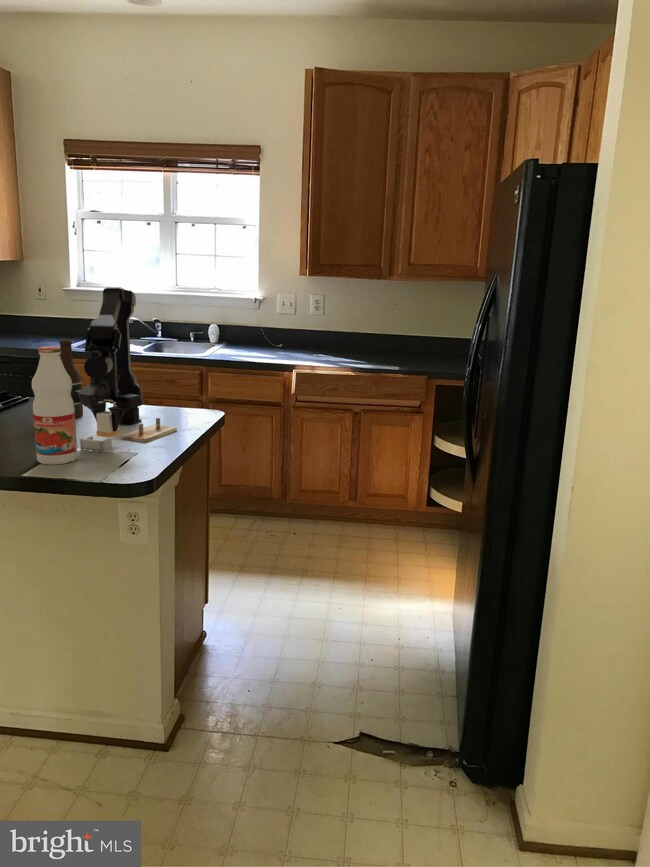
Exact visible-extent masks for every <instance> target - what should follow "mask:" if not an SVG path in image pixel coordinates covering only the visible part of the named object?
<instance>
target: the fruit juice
mask: <svg viewBox="0 0 650 867" xmlns="http://www.w3.org/2000/svg"><path fill="white" fill-rule="evenodd" d="M60 352H61V349H60V346H55V345H44V346H39V347H38V355H39V356H40V357H39V361H38V366H37V367H36V368H37V369H36V372H35V374H34V375H33V377H32V380H31V389H32V392H33V395H34V399H33V401H32V413H33V414H32V415H33V425H34V426H33V429H34V438H35V439H34V440H35V452H36V454H35V455H36V460H37V462H38V463H40V464H42V465H53V466H54V465H55V466H57V465H64V464H68V462H69V463H72V462H74V461H76V460H77V457H78V448H77V446H78V445H77V431H76V430H77V428H76V419H75V410H74V402H73V399H72V397H71V390H72V380H71V378H70V376H69V375H68V374H67V372H66V370H65V368H64V366H63V364H62V361H61V359H60V354H61V353H60ZM75 459H76V460H75ZM71 461H72V462H71Z"/></svg>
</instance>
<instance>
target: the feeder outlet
mask: <svg viewBox="0 0 650 867" xmlns="http://www.w3.org/2000/svg"><path fill="white" fill-rule="evenodd" d="M79 441H80V442H79V444H80V446H79V447H80V450H81V449H86V450H85V451H87V450H92V451H91V452H93V451H98V452H97V453H100V452H103V453H106V452H109V451H111V450H113V439H112V438H107V439H105V440H101V441H100V440H94V435H88V436H85V437H83V438H80V439H79Z"/></svg>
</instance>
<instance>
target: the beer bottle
mask: <svg viewBox="0 0 650 867" xmlns="http://www.w3.org/2000/svg"><path fill="white" fill-rule="evenodd" d="M58 344H59V347H60V349H61V352H60V353H61V354H60V359H61V361H62V364H63V366H64V368H65V370H66V372H67V374H68V375H69V376H70V378H71V380H72V390H71V397H72V394H73V393H74V391H78V390H82V389H83V387H82V386H83V385H82V378H81V374H80V372H79V370H78V368H77V367H76V366H75V363H74V362H75V361H74V358H73V356H74V355H73V350H72V347H73V346H72V344H73V342H72V340H71V339H67V338H63V339H60V340H59V341H58ZM74 410H75V418H76V419H79V417H80V418H81V416H82V417H83V415H84V404H81V403H76V402H74Z"/></svg>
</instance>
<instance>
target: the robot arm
mask: <svg viewBox="0 0 650 867" xmlns="http://www.w3.org/2000/svg"><path fill="white" fill-rule="evenodd" d="M136 299H137V298H136V293H134V292H133V291H132V290H131V289H125V288H124V287H121V286H106V287H104V288H103V290H102V303H101V307H100V310H99V313H98V317H96V318H94V319H92V320H91V322H90V324H89V328H87V330H86V336H85V337H86V338H85V346H84V352H85V353H90V354H91V355H90V357H88V358H87V359H86V360H85V362H84V365H83V369H84V372H85V374H86V375H87V377H89V378H90V380H89V381H90V382H89V384H88V385H85V387H82V390H78V391H74V393H73V394H72V399H73V402H76V403H81V404H83V407H86V408H87V409H89V411H91V413H92V415H93V416H94V418H95V419H94V420H95V421H96V422H97V418H96V414H97V413H100V412H104V411H107V409H108V411H110V412H111V414H112V428H113V431H114V432H115V431H117V429H118V427H119V428H120V425H124V426H125V425H126V426H131V425H134V424H138V423H140V422H142V420H143V419H141V418H140V406H143V392H142V389H141V388H140V385H139V383H138V378H137V376H136V374H135V373H134V372H133V370H132V365H131V364H132V363H131V341H130V337H131V336H130V318H131V317H132V315H133V313H134V312H135V307H136V304H137V300H136ZM107 403H110V404H111V405H112V406H111V407H108V408H107ZM106 408H107V409H106Z"/></svg>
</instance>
